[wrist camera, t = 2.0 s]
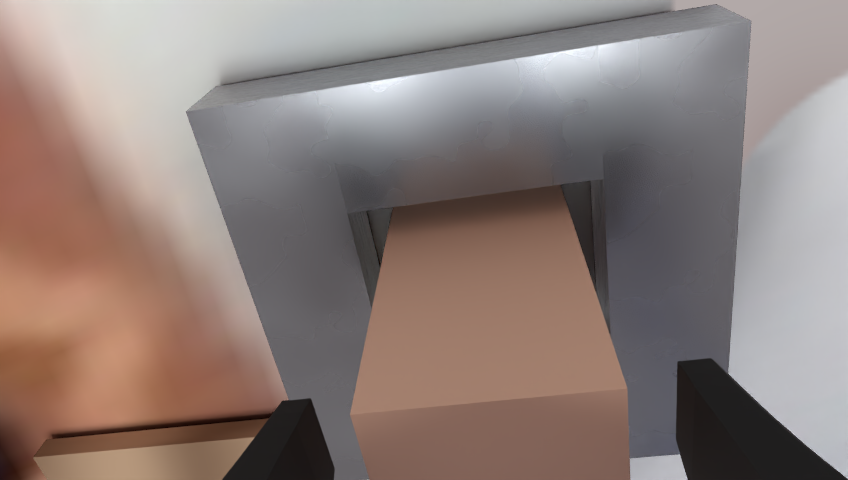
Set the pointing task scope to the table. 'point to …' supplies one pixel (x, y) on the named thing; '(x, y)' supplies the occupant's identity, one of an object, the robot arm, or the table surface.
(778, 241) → the table surface
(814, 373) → the table surface
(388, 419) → the pinkish brown rectangular block
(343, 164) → the socket plate
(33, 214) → the table surface
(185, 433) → the walnut pad
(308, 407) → the robot arm
